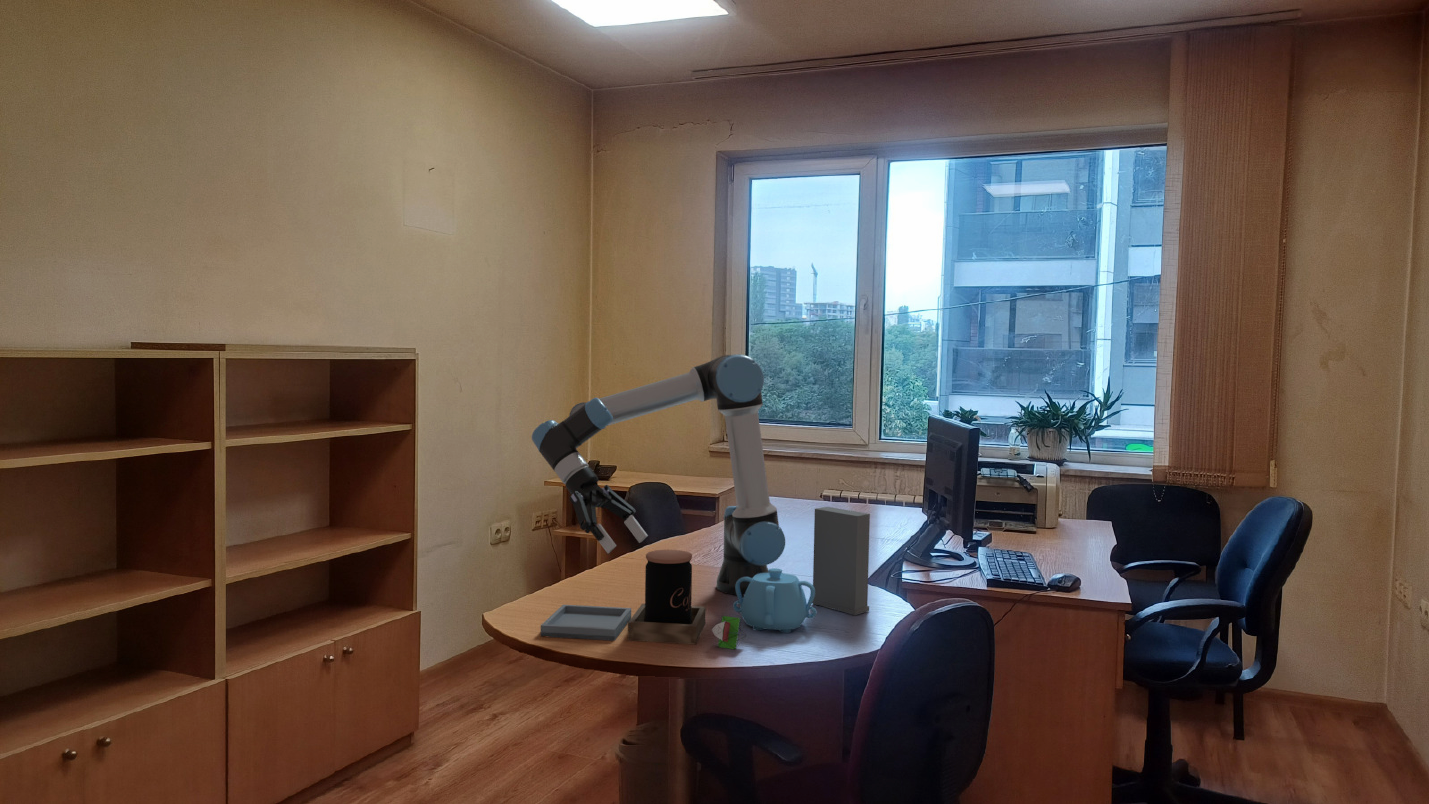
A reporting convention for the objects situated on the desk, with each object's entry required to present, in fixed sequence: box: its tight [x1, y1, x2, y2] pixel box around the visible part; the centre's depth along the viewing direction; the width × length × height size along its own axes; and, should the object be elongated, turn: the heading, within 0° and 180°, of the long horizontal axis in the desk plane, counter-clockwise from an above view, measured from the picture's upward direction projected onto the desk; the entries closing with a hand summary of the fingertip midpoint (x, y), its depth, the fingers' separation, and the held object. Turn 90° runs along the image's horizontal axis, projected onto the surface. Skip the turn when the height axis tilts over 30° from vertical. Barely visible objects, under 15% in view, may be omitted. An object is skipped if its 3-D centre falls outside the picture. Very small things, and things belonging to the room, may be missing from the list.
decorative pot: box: [732, 567, 818, 634], centre depth 205 cm, size 16×16×14 cm
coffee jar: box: [644, 549, 693, 624], centre depth 199 cm, size 11×11×18 cm
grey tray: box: [540, 604, 632, 642], centre depth 201 cm, size 17×17×2 cm
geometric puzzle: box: [710, 615, 747, 651], centre depth 189 cm, size 7×7×8 cm
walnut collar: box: [627, 603, 707, 645], centre depth 199 cm, size 15×15×4 cm
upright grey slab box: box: [811, 506, 871, 616], centre depth 220 cm, size 14×6×25 cm, turn 44°
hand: (628, 544), depth 203 cm, fingers open, 13 cm apart
